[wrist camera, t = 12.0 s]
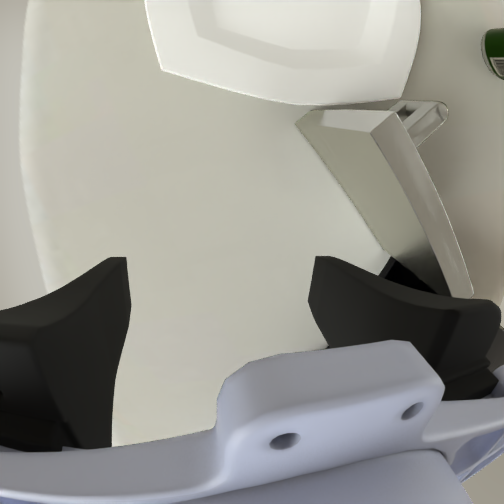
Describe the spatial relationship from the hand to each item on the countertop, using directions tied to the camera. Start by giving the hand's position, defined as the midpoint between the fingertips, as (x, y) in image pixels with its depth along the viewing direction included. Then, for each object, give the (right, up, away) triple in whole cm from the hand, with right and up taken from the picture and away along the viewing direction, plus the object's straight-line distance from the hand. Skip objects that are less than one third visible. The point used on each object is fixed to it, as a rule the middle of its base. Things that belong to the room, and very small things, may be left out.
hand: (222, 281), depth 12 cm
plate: (+4, +19, +4) cm, 20 cm away
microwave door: (+10, +8, +10) cm, 16 cm away
